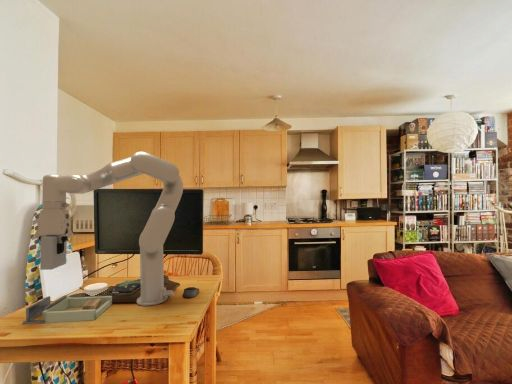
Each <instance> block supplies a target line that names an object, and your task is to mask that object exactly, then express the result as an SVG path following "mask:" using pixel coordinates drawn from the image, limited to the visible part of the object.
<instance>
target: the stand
mask: <svg viewBox="0 0 512 384" xmlns="http://www.w3.org/2000/svg"><path fill="white" fill-rule="evenodd" d="M67 297H68V296H67V295H63V296H61V297H60V298H58V299H56V300H55V301H53V302H51V296H49V295H48V296H47V297H44V298H42V299H41V300H38V301H37V302H35V303H33V304H31V305H30V306H27V307H26V308H25V320H24V321H22V322H21V323H22V325H34V324H35V325H36V324H37V325H39V324H45V321H43V319H39V320H38V319H36V318H38V317H39V316H41V315H43V311H45V310H48V309H50V308H51V307H53V306H55V305H56V304H58V303H60V302H61V301H63V300H64V299H66V298H67Z"/></svg>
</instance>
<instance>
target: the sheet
mask: <svg viewBox="0 0 512 384" xmlns="http://www.w3.org/2000/svg"><path fill="white" fill-rule="evenodd" d="M66 235H67V234H65V236H66ZM58 243H59V242H58V237H57V236H46V237H41V241H40V262H39V263H40V267H39V268H40V271H42V270H44V271H45V270H47V271H48V270H49V271H51V270H53V269H57V268H58V267H61V266H64V265H66V264H67V241H66V242H64V251H63V253H60V254H57V244H58Z"/></svg>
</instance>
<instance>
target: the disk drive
mask: <svg viewBox="0 0 512 384" xmlns="http://www.w3.org/2000/svg"><path fill="white" fill-rule="evenodd" d="M139 287H140V280H125V281H124V282H121V283H120V284H118V285H117V286H115V287H114V288H112V289H110V290H109V294H110V293H132V292H133V291H134V290H136V289H137V288H139Z"/></svg>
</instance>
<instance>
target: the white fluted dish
mask: <svg viewBox="0 0 512 384" xmlns="http://www.w3.org/2000/svg"><path fill="white" fill-rule="evenodd" d="M107 289H108V290H109V284H108V283H106V282H97V283H91V284H89V285H86V286H85V287H84V288H83V294H84V293H86V294H88V295H90V296H89V297H96V296H95V295H97V294H99V293H101V292H103V291H105V290H107Z"/></svg>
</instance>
